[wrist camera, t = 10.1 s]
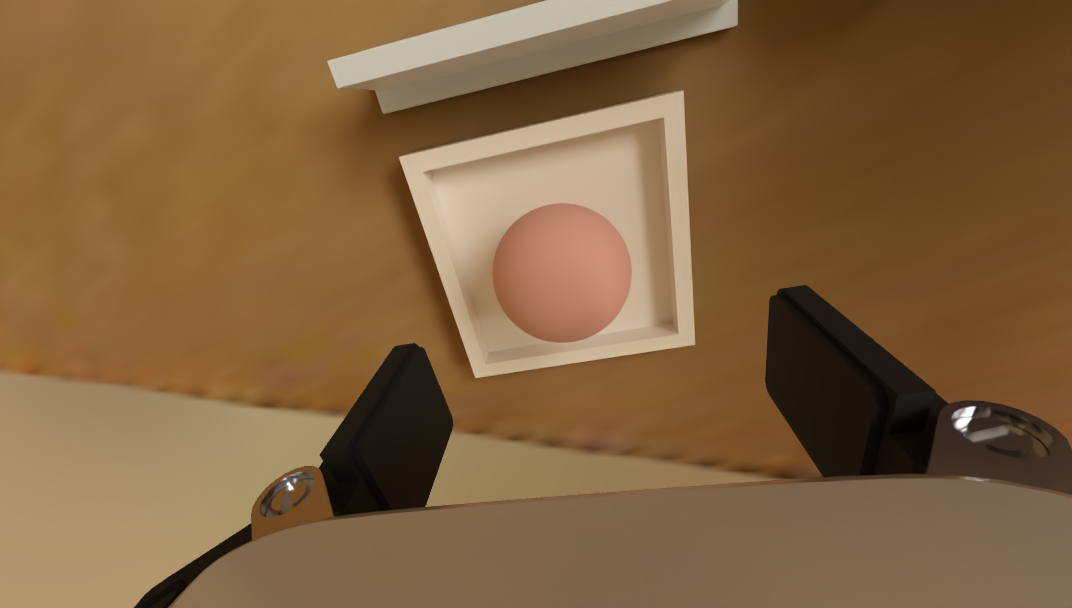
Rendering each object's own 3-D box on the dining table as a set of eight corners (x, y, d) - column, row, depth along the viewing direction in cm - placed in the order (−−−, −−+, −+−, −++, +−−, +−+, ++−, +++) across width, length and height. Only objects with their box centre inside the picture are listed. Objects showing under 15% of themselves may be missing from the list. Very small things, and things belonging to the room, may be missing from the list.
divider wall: (731, -47, 15) (805, -108, 11) (731, 27, 16) (798, 0, 12) (367, 52, 17) (301, 35, 13) (387, 113, 18) (334, 117, 14)
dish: (671, 91, 17) (683, 90, 16) (685, 327, 23) (695, 344, 21) (411, 152, 19) (398, 157, 17) (480, 359, 24) (475, 378, 23)
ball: (613, 178, 18) (634, 210, 13) (628, 293, 21) (650, 360, 16) (488, 203, 19) (460, 244, 14) (517, 311, 22) (503, 380, 17)
